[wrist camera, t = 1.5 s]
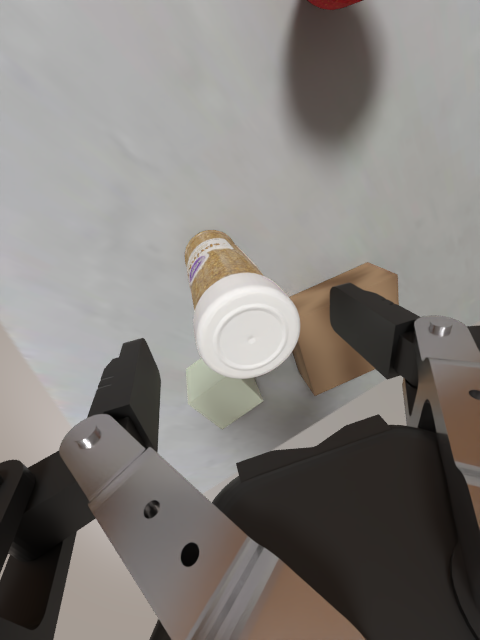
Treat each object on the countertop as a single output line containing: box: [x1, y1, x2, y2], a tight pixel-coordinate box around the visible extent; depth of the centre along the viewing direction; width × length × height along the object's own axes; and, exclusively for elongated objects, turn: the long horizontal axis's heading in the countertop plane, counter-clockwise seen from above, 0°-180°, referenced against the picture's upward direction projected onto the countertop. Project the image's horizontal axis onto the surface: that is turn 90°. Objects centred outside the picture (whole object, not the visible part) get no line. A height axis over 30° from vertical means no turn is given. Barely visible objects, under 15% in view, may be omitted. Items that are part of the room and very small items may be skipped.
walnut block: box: [289, 262, 399, 396], centre depth 27 cm, size 10×10×4 cm
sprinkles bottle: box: [185, 230, 300, 379], centre depth 16 cm, size 5×5×14 cm
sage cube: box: [186, 358, 263, 429], centre depth 26 cm, size 5×5×5 cm
